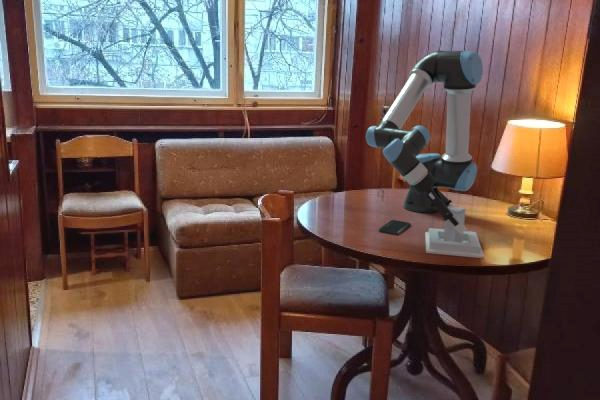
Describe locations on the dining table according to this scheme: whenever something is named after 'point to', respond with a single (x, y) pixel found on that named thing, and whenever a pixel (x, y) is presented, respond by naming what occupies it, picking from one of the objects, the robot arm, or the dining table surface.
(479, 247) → the socket stand
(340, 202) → the dining table surface
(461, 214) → the skincare box
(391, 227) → the phone
